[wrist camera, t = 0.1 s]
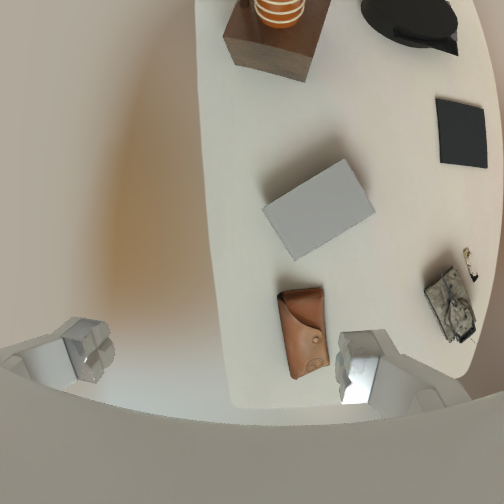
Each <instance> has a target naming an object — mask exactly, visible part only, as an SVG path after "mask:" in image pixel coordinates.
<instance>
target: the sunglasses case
mask: <svg viewBox="0 0 504 504" xmlns="http://www.w3.org/2000/svg"><path fill="white" fill-rule="evenodd" d="M277 300H278V307H279V314H280V320H281V326H282V331H283V337H284V343H285V348H286V354H287V360H288V365H289V370H290V375H291V377H292V378H293V379H295V380H297V379H298V378H299V377H301V376H303V375H306V374H308V373H310V372H312V371H314V370H316V369H318V368H321V367H323V366H328V365H329V364H330V361H329V355H328V350H327V341H326V329H325V317H324V290H323V289H321V288H308V289H299V290H290V291H284V292H281V293H280V294H278V296H277Z"/></svg>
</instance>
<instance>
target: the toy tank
mask: <svg viewBox="0 0 504 504" xmlns="http://www.w3.org/2000/svg"><path fill="white" fill-rule="evenodd" d="M446 273H447V274H446V275H445V276H443V274H442V273H441V274H440V275H441V277H442V278H441V279H440V280H439V281H438V282H437V283H436V284H435V283H434V285H433V286H429V287H427V288H426V289H425V290H424V293H425V297H426V299H427V301H428V303H429V305H430V307H431V309H432V311H433V313H434V315H435V317H436V320H437V322H438V324H439V326H440V328H441V331H442V333H443V335H444V336H445V338H446V340H449V343H451V342H452V341H453V340H455V337H456V339H457V340H458V341H459V343H463V342H464V341H465V340H466V339H467V338H469V337H470V336H471V335H472V334H473V333H474V332H475V331H476V327H475V324H474V323H475V322H476V318H475V315H474V313H473V310H472V307H471V304H470V301H469V299H468V296H467V293H466V291H465V288H464V286H463V283H462V281H461V279H460V276H459V274H458V272H457V270H456V269H455V268H454V267H453V266H452V267H451V268H450V269H449V270H448V271H447V272H446ZM473 342H474V341H473Z"/></svg>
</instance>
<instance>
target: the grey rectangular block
mask: <svg viewBox="0 0 504 504" xmlns="http://www.w3.org/2000/svg"><path fill="white" fill-rule="evenodd" d="M262 211H263V212H264V214H265V215H266V217H267V219H268V220H269V222H270V223H271V225H272V226H273V228H274V230H275V231H276V233H277V234H278V236H279V237H280V239H281V241H282V242H283V244H284V245H285V247H286V249H287V250H288V252H289V253H290V255H291V257H292V258H293V260H294V261H296V260H298V259H299V258H301V257H303V256H304V255H306V254H308V253H309V252H311V251H313V250H314V249H316V248H318V247H319V246H321V245H323V244H324V243H326V242H328V241H329V240H331V239H333V238H334V237H336V236H338V235H339V234H341V233H343V232H344V231H346V230H348V229H349V228H351V227H353V226H354V225H356V224H358V223H359V222H361V221H362V220H364V219H366V218H367V217H369V216H371V215H372V214H374V213H375V210H374V208H373V206H372V204H371V202H370V201H369V199H368V197H367V195H366V193H365V192H364V190H363V188H362V186H361V185H360V183H359V181H358V179H357V178H356V176H355V174H354V173H353V171H352V169H351V168H350V166H349V164H348V163H347V161H346V159H345V158H344V159H342V160H340V161H339V162H337V163H335V164H334V165H332V166H330V167H329V168H327V169H325V170H324V171H322V172H320V173H319V174H317V175H315V176H314V177H312V178H310V179H309V180H307V181H305V182H304V183H302V184H301V185H299V186H297V187H296V188H294V189H292V190H291V191H289V192H288V193H286V194H284V195H283V196H281V197H279V198H278V199H276V200H275V201H273V202H271V203H270V204H268V205H267V206H265V207H264V208H262Z"/></svg>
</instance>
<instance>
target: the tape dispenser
mask: <svg viewBox="0 0 504 504" xmlns="http://www.w3.org/2000/svg"><path fill="white" fill-rule="evenodd" d="M361 11H362V14H363V16H364V18H365V19H366V21H367V22H368V23H369V24H370V25H371V27H373V28H374V29H375V30H376V31H377V32H379V33H380V34H382V35H383V36H385V37H387V38H389V39H391V40H393V41H395V42H397V43H400V44H402V45H406V46H409V47H415V48H435V49H438V50H441V51H444V52H447V53H450V54H453V55H456V56H458V48H457V42H456V41H457V26H458V22H457V17H456V15H455V13H454V11H453V10H452V8H451V5H450V3H449V2H448V1H445V0H363V2H362V5H361Z"/></svg>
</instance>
